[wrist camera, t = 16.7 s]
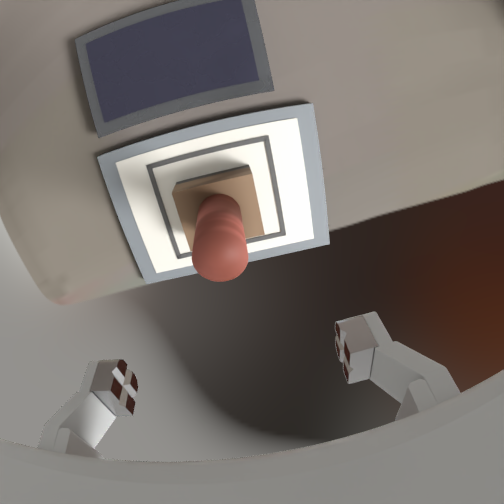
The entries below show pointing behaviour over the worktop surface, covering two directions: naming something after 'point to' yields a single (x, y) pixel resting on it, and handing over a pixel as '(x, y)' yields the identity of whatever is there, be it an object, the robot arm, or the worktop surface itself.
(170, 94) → the ink pad
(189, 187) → the stamp
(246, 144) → the board
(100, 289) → the worktop surface
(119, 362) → the robot arm
